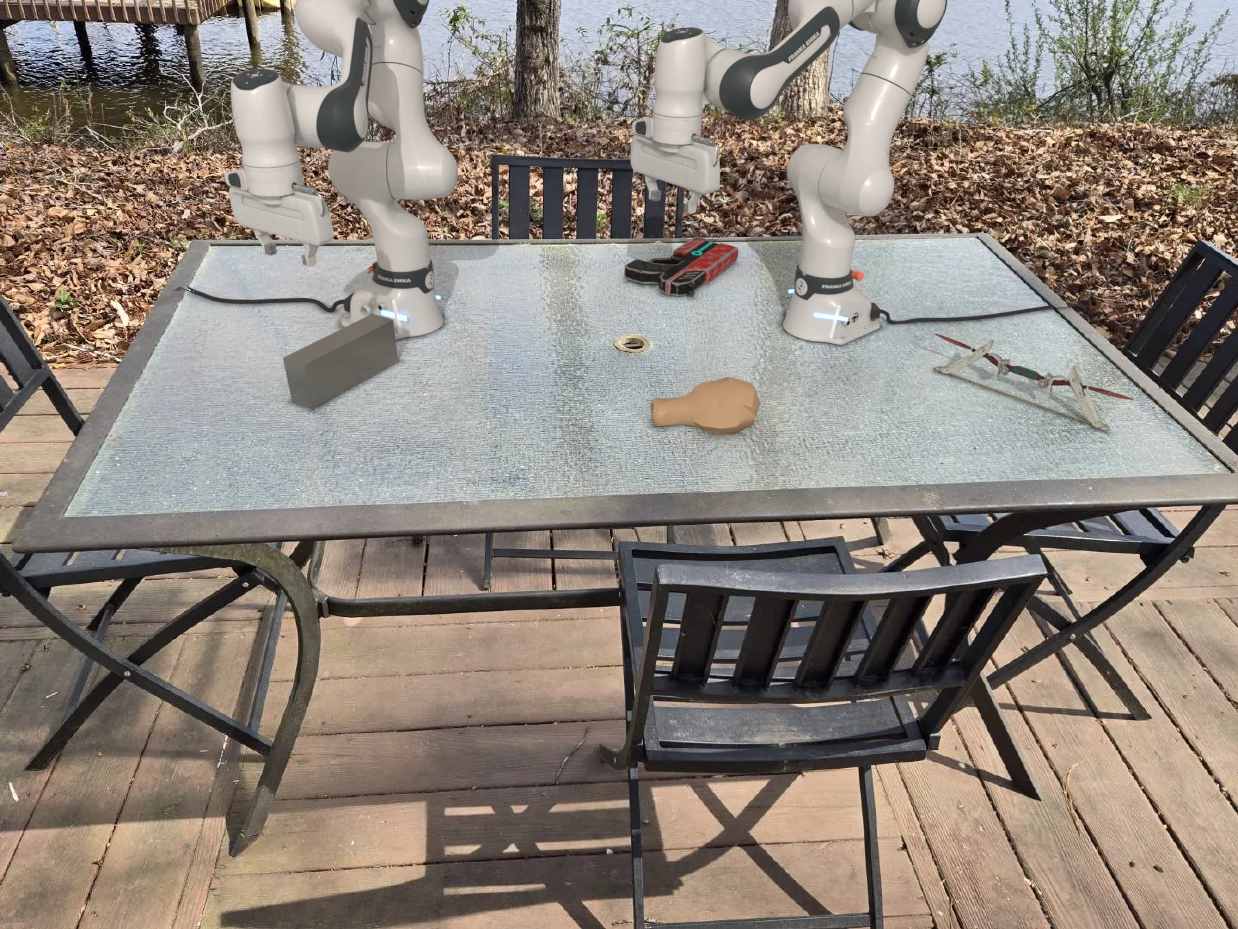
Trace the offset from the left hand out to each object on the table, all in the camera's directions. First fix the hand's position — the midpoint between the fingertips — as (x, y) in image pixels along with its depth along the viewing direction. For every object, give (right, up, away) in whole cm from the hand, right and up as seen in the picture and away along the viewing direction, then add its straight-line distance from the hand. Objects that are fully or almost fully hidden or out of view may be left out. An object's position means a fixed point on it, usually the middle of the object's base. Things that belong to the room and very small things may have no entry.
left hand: (290, 259), depth 152 cm
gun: (+73, +14, +73) cm, 104 cm away
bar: (+3, -19, +21) cm, 29 cm away
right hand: (+67, +13, +13) cm, 69 cm away
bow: (+136, -23, +22) cm, 140 cm away
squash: (+73, -28, +10) cm, 79 cm away
